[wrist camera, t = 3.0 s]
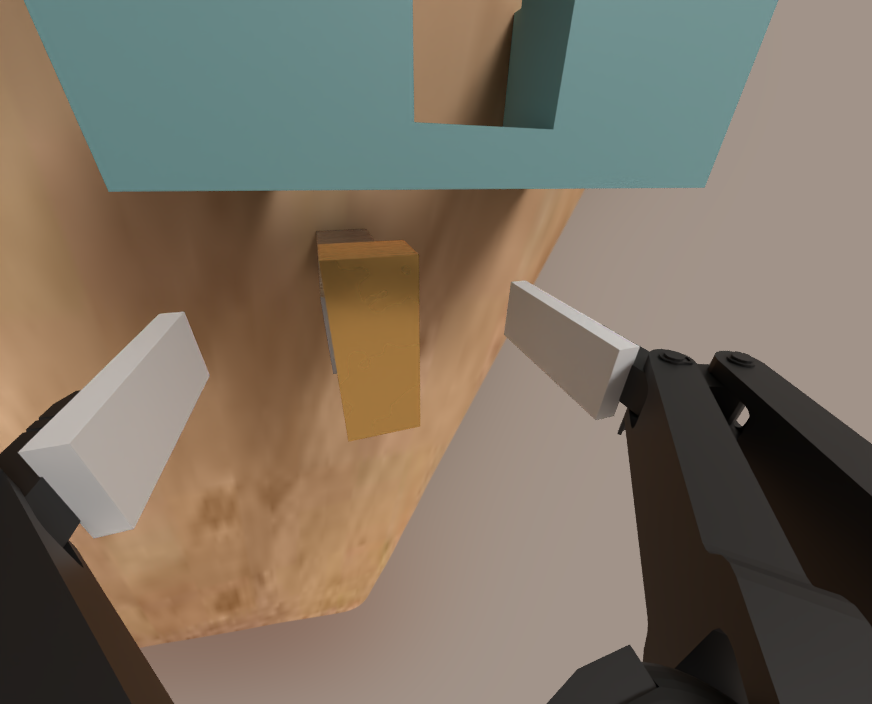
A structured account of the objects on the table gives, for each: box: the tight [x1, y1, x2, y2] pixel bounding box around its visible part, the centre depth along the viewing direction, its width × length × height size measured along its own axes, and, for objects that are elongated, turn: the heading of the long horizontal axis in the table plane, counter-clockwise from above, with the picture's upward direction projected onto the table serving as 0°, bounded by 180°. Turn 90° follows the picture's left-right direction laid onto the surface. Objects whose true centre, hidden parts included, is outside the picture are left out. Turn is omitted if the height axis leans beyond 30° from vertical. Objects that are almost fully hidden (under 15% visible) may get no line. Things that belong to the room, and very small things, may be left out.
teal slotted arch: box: [24, 0, 778, 192], centre depth 14 cm, size 20×8×12 cm, turn 90°
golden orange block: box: [316, 229, 420, 442], centre depth 17 cm, size 3×7×14 cm, turn 179°
